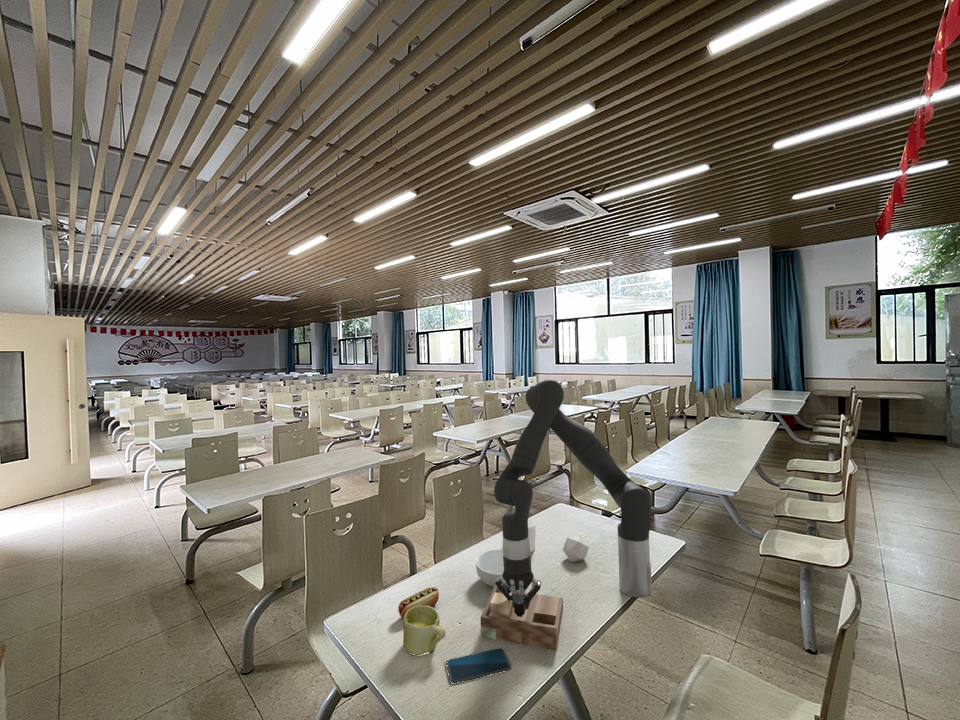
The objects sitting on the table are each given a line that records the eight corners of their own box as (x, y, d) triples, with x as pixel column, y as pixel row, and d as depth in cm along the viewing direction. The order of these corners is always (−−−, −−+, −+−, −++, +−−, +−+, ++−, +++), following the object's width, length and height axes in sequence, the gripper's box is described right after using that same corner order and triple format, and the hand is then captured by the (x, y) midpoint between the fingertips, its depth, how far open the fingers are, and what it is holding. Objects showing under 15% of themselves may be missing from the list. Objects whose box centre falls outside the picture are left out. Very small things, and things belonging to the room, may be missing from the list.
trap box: (563, 607, 124) (562, 589, 124) (556, 649, 107) (556, 628, 106) (497, 598, 129) (496, 581, 129) (481, 637, 112) (480, 617, 112)
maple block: (512, 612, 118) (512, 594, 118) (509, 623, 113) (508, 604, 113) (495, 609, 119) (494, 592, 119) (491, 620, 114) (490, 602, 114)
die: (586, 568, 146) (595, 541, 150) (564, 557, 146) (573, 530, 150) (577, 566, 154) (586, 540, 158) (556, 555, 154) (565, 530, 158)
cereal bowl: (520, 599, 129) (519, 577, 128) (469, 591, 134) (468, 570, 134) (531, 571, 145) (530, 551, 145) (485, 565, 150) (485, 546, 150)
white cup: (520, 555, 156) (519, 529, 156) (512, 546, 164) (512, 521, 164) (539, 552, 158) (538, 525, 158) (531, 543, 166) (530, 518, 166)
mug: (388, 640, 110) (401, 602, 110) (419, 633, 117) (431, 598, 117) (413, 674, 101) (427, 633, 101) (445, 665, 108) (457, 627, 108)
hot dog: (443, 605, 127) (442, 589, 127) (405, 625, 118) (404, 608, 118) (433, 598, 131) (432, 583, 131) (396, 617, 122) (395, 601, 122)
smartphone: (512, 671, 100) (512, 667, 100) (450, 687, 96) (450, 683, 96) (502, 650, 108) (502, 646, 108) (444, 663, 104) (444, 660, 104)
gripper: (542, 547, 116) (546, 609, 116) (496, 544, 120) (499, 604, 120) (538, 560, 109) (542, 626, 109) (489, 556, 112) (493, 620, 113)
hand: (520, 614), depth 114 cm, fingers closed
